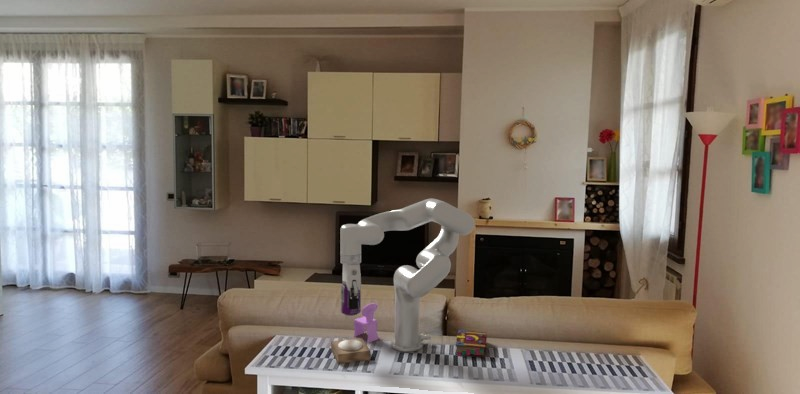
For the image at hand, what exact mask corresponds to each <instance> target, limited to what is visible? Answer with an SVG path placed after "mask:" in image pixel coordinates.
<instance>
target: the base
mask: <svg viewBox="0 0 800 394" xmlns="http://www.w3.org/2000/svg"><path fill="white" fill-rule="evenodd" d="M330 350H331V353H332V354H333V356H334V358H335V360H336V363H337V364H338V365H339V364H346V363H355V362H361V361H362V362H363V361H368V360H369V359H370V360H371V349H370V348H369V346H368V345H367V342H365V340H364V339H363V337H359V338H357V337H356V338H351V339H350V338H349V339H342V340H341V339H340V340H332V341H330Z"/></svg>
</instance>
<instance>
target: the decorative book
mask: <svg viewBox="0 0 800 394" xmlns="http://www.w3.org/2000/svg"><path fill="white" fill-rule="evenodd" d="M487 336H488V335H487V332H485V331H473V330H472V331H471V330H467V329H466V330H465V329H458V331H457V335H456V340H455V353H454V355H455V356H457V357H462V356H463V357H466V356H469V357H479V358H485V357H486V356H485V355H487V354H486V353H487Z"/></svg>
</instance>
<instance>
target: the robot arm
mask: <svg viewBox="0 0 800 394" xmlns="http://www.w3.org/2000/svg"><path fill="white" fill-rule="evenodd" d="M430 222H433V223H436V224H439V225H440V232H439V233H438V235H437V237H436V238H435V239H434V240H433V241H432V242H430V243H429V244H428V245H427V246H425V248H423V250H421V251H420V252H419V253H418V254H417V256H416V259H415V263H416V266H417V267H418V268H419V269H417V268H416V267H414V266H412V265H408V264H406V265H405V264H404V265H401V266H399V267H398V268H397V269H396V270H395V271H394V274H393V287H394V288H393V289H394V298H395V299H394V302H395V303H394V338H392V339H391V340H390V347H391V349H393V350H396V351H399V352H405V353H407V352H416V351H419V350H420V349H422V348H423V346H424V345H423V341H425V340H428V341H429V340H431V338H432V336H431V334H426V333H425V332H421V333H420V310H421V309H420V307H421V299H420V298H423V297H425V296H426V295H428V294H429V293H430V292H431V291H432V290H433V289H435V288H436V287H437V286H438V285H439V284H440V283H441V282H442V281H443V280H444V279H445V278H446V277H447V276H448V274H449V272H450V271H451V268H452V267H451V266H452V262H451V260H450V255H452V254H453V253H454V252H455V250H456V249H457V246H458V245H459V239H460V235H461V236H467V235H469V234H471V233H472V232H473V231H474V229H475V227H476V221H475V219H474V216H472V215H471V214H469V213H468V212H466V211H464V210H462V209H460V208H457V207H456V206H453V205H452V204H450V203H448V202H446V201H443V200H440V199H436V198H431V197H430V198H427V199H423V200H421V201H419V202H415V203H413V204H410V205H407V206H405V207H403V208H399V209H393V210H391V211H389V210H388V211H385V212H380V213H377V214H374V215H370V216H369V217H365V218H363V219H361V220H360V221H358V223H346V224H342V225H340V226H341V227H340V229H339V230H340V232H339V234H340V240H339V243H340V247H339V248H340V252H339V255H340V264H342V273H341V274H342V282H343V281H344V283H345V284H346V287H347V290H348V291H349V294H350V298H349V309H357V308H358V290H362V277H361V275H362V274H361V265H360V264H361V263H362V245H369V246H375V245H378V244H380V243H381V242H382V241H383V240H384V238H385V233H386V232H389V231H400V232H401V231H410V230H413V229H415V228H417V227H420V226H423V225H426V224H427V223H430ZM384 232H385V233H384ZM351 288H353V290H351ZM351 292H353V293H351Z"/></svg>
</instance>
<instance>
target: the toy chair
mask: <svg viewBox="0 0 800 394" xmlns="http://www.w3.org/2000/svg"><path fill="white" fill-rule="evenodd" d="M377 310H378V304H377V303H376V302H371V303H368V304H366V305H364V307H362V309H361V312H360V313H361V315H362V316H361V317H357V318H355V319H354V322H353V325H354V333H353V338H355V337H356V338H357V337H358V335H359V336H361V335H360V334H362V333H364V332H366V334H367V339H366V340H367V341H366V344H368V343H371V342H374V341H376V340H378V339H380V337H379V335H378V332H377V330H378V320H377V319H375V318H374V314H375V312H376V311H377ZM365 329H366V330H365ZM364 334H365V333H364ZM362 335H363V334H362Z"/></svg>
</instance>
